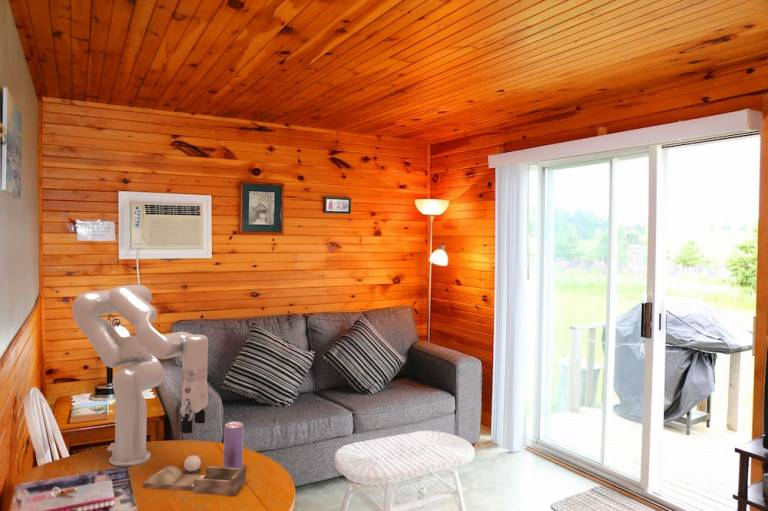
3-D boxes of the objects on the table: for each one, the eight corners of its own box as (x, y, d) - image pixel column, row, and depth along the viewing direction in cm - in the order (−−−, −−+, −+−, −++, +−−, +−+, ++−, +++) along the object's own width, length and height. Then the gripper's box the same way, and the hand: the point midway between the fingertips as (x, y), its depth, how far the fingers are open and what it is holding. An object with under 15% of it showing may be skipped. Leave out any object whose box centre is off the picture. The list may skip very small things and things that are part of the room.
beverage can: (237, 475, 180) (238, 428, 180) (219, 473, 181) (220, 426, 181) (245, 468, 186) (246, 422, 185) (228, 466, 187) (229, 420, 187)
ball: (180, 472, 180) (180, 457, 180) (191, 467, 185) (191, 451, 185) (193, 475, 178) (194, 459, 178) (203, 469, 183) (204, 454, 183)
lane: (140, 503, 168) (141, 472, 168) (157, 488, 178) (157, 459, 178) (234, 509, 166) (234, 478, 165) (245, 494, 176) (246, 465, 175)
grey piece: (188, 476, 178) (188, 474, 178) (182, 471, 182) (182, 469, 182) (202, 472, 181) (202, 470, 181) (196, 467, 185) (196, 466, 185)
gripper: (194, 381, 172) (193, 437, 172) (216, 368, 189) (215, 420, 190) (170, 380, 173) (169, 436, 173) (194, 367, 190) (193, 418, 190)
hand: (193, 427), depth 181 cm, fingers open, 9 cm apart
